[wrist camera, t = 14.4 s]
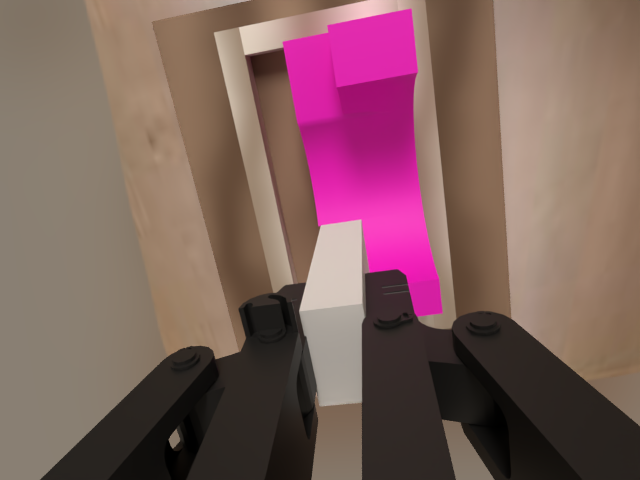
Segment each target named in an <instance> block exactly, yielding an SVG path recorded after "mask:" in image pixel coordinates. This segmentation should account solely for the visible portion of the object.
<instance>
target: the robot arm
mask: <svg viewBox="0 0 640 480" xmlns="http://www.w3.org/2000/svg"><path fill="white" fill-rule="evenodd" d="M238 310H239V313H240V317H241V321H242V325H243V329H244V332H245V336H246V340H245V342H244V344H243V347H242V349H241V351H240V352H238V353H235V354H232V355H229V356H226V357H222V358H219V359H216V360H215V356H214V353H213V350H211V349H210V348H209V347H205V346H190V347H186V348H183V349H180V350H178V351H177V352H175V353H173V354H171V355H170V356H168V357H167V358H166V359H164V360H163V361H162V362H161V363H160V364H159V365H158V366H157V367H156V368H155V369H154V370H153V371H152V372H151V373H150V374H148V375H147V376H146V377H145V378H144V379H143V380H142V381H141V382H140V383H139V384H138V385H137V386H136V387H135V388H134V389H133V390H132V391H131V392H130V393H129V394H128V395H127V396H126V397H125V398H124V399H123V400H122V401H121V402H120V403H119V404H118V405H117V406H116V407H115V408H114V409H112V410H111V411H110V412H109V413H108V414H107V415H106V416H105V417H104V418H103V419H102V420H101V421H100V422H99V423H98V424H97V425H96V426H95V427H94V428H93V429H92V430H91V431H90V432H89V433H88V434H87V435H86V436H85V437H84V438H83V439H82V440H81V441H80V442H79V443H77V445H76V446H74V447H73V448H72V449H71V450H70V451H69V452H68V453H67V454H66V455H65V456H64V457H63V458H62V459H61V460H60V461H59V462H58V463H57V464H56V465H55V466H54V467H53V468H52V469H51V470H50V471H49V472H48V473H47V474H46V475H45V476H43V478H41V480H311V477H312V468H313V459H314V452H315V451H314V450H315V442H316V434H317V426H318V417H317V412H316V407H315V403H314V402H315V395H316V392H317V396H318V401H319V405H320V406H329V405H340V404H350V403H361V402H362V480H456V479H455V474H454V470H453V466H452V462H451V457H450V453H449V449H448V444H447V440H446V436H445V431H444V427H443V423H442V419H443V420H449V421H456V422H461V425H462V428H463V431H464V433H465V435H466V436H467V438H468V439H469V441H470V443H471V444H472V446H473V447H474V449H475V450H476V452H477V453H478V455H479V456H480V458H481V459H482V461H483V463H484V464H485V466H486V467H487V469H488V470H489V472H490V473H491V475H492V476H493V478H494V479H495V480H640V426H639V425H638V424H636V423H635V422H634V421H633V420H632V419H630V418H629V417H628V416H627V415H626V414H625V413H623V412H622V411H621V410H620V409H619V408H617V407H616V406H615V405H614V404H613V403H611V402H610V401H609V400H608V399H607V398H605V397H604V396H603V395H602V394H601V393H599V392H598V391H597V390H596V389H595V388H593V387H592V386H591V385H590V384H589V383H588V382H586V381H585V380H584V379H583V378H582V377H580V376H579V375H578V374H577V373H576V372H574V371H573V370H572V369H571V368H570V367H568V366H567V365H566V364H565V363H564V362H562V361H561V360H560V359H559V358H558V357H556V356H555V355H554V354H553V353H552V352H551V351H549V350H548V349H547V348H546V347H545V346H543V345H542V344H541V343H540V342H539V341H537V340H536V339H535V338H534V337H533V336H531V335H530V334H529V333H528V332H527V331H525V330H524V329H523V328H522V327H521V326H519V325H518V324H517V323H516V322H515V321H514V320H512V319H511V318H509V317H507V316H505V315H503V314H499V313H495V312H491V311H486V312H485V311H477V312H472V313H468V314H465V315H462V316H460V317H458V318H457V319H456V320H455V321H454V322H453V325H452V330H446V329H438V328H433V327H429V326H426V325H424V324H422V323H421V322H420V321H419V320H418V317H417V316H416V314H415V312H414V308H413V303H412V299H411V295H410V291H409V286H408V282H407V277H406V275H405V274H404V273H402V272H401V271H400V270H398V269H394V270H386V271H379V272H371V273H370V271H369V265H368V258H367V252H366V246H365V239H364V233H363V227H362V220H354V221H347V222H341V223H334V224H327V225H321V227H320V231H319V235H318V239H317V243H316V247H315V251H314V255H313V259H312V262H311V266H310V270H309V274H308V278H307V282H305V283H297V284H289V285H285V286H283V287H282V288H281V289H280V290H279V291H278V292H277V293H267V294H263V295H259V296H256V297H254V298H251V299H249V300H247V301H246V302H244V303H243V304H242V305H241V306H240V307H239V308H238ZM175 429H177V431H178V434H179V437H180V442H179V443H178V444H177V445H176V447H174V448H173V449H172V447H171V446H170V443H169V440H168V439H169V438H170V436H171V434H172V433H173V432H174V431H175Z"/></svg>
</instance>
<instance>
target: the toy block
mask: <svg viewBox="0 0 640 480" xmlns="http://www.w3.org/2000/svg"><path fill="white" fill-rule="evenodd" d="M327 28H328V33H323V34H318V35H313V36H308V37H303V38H298V39H293V40H288V41H283V48H284V53H285V59H286V64H287V69H288V75H289V80H290V86H291V91H292V97H293V102H294V107H295V113H296V118H297V123H298V126H299V129H300V133H301V136H302V140H303V144H304V148H305V152H306V157H307V161H308V166H309V170H310V176H311V181H312V186H313V192H314V198H315V205H316V211H317V219H318V226H321V225H327V224H334V223H341V222H347V221H354V220H362V227H363V233H364V239H365V246H366V252H367V258H368V265H369V271H370V273H371V272H379V271H386V270H394V269H398V270H400V271H401V272H402V273H404V274H405V275H406V277H407V282H408V286H409V291H410V295H411V299H412V303H413V308H414V312H415V314H416V316H417V317H418V316H427V315H435V314H443V310H442V300H441V290H440V281H439V277H438V274H437V270H436V267H435V264H434V260H433V256H432V252H431V248H430V243H429V238H428V234H427V229H426V223H425V218H424V212H423V206H422V199H421V192H420V185H419V177H418V168H417V159H416V148H415V134H414V86H415V80H416V76H417V74H418V65H417V56H416V46H415V36H414V26H413V17H412V8H410V9H405V10H400V11H395V12H390V13H385V14H380V15H375V16H370V17H365V18H360V19H355V20H350V21H345V22H340V23H335V24H330V25H327Z"/></svg>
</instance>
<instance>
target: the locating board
mask: <svg viewBox="0 0 640 480" xmlns="http://www.w3.org/2000/svg"><path fill="white" fill-rule="evenodd" d="M410 8H412V17H413V26H414V36H415V46H416V56H417V65H418V74H417V76H416V80H415V86H414V134H415V148H416V159H417V168H418V177H419V185H420V192H421V199H422V206H423V212H424V218H425V223H426V229H427V234H428V238H429V243H430V248H431V252H432V256H433V260H434V264H435V267H436V270H437V274H438V277H439V281H440V290H441V300H442V310H443V314H435V315H427V316H418V320H419V321H420V322H421V323H422V324H424V325H426V326H429V327H433V328H438V329H446V330H452V325H453V322H454V321H455V320H456V319H457V318H458V317H460V316H462V315H465V314H468V313H472V312H477V311H485V312H486V311H491V312H495V313H499V314H503V315H505V316H507V317H509V318H511V307H510V289H509V272H508V254H507V237H506V219H505V202H504V184H503V167H502V149H501V132H500V114H499V97H498V79H497V62H496V44H495V27H494V9H493V0H251V1H246V2H241V3H237V4H232V5H227V6H223V7H218V8H213V9H209V10H204V11H199V12H195V13H190V14H186V15H181V16H176V17H172V18H167V19H162V20H158V21H153V22H152V24H153V28H154V32H155V35H156V39H157V43H158V47H159V50H160V54H161V58H162V62H163V65H164V69H165V73H166V77H167V81H168V84H169V88H170V92H171V96H172V99H173V103H174V107H175V111H176V115H177V118H178V122H179V126H180V130H181V133H182V137H183V141H184V145H185V148H186V152H187V156H188V160H189V164H190V167H191V171H192V175H193V179H194V182H195V186H196V190H197V194H198V197H199V201H200V205H201V209H202V213H203V216H204V220H205V224H206V228H207V231H208V235H209V239H210V243H211V247H212V250H213V254H214V258H215V262H216V265H217V269H218V273H219V277H220V280H221V284H222V288H223V292H224V296H225V299H226V303H227V307H228V311H229V314H230V318H231V322H232V326H233V329H234V333H235V337H236V341H237V345H238V348H239V352H240V351H241V349H242V347H243V344H244V342H245V340H246V336H245V332H244V329H243V325H242V321H241V317H240V313H239V310H238V308H239V307H240V306H241V305H242V304H243V303H244V302H246V301H247V300H249V299H251V298H254V297H256V296H259V295H263V294H267V293H277V292H278V291H279V290H280V289H281V288H282V287H283V286H285V285H289V284H297V283H305V282H307V278H308V274H309V270H310V266H311V262H312V259H313V255H314V251H315V247H316V243H317V239H318V235H319V231H320V227H321V226H318V219H317V211H316V205H315V198H314V192H313V186H312V181H311V176H310V170H309V166H308V161H307V157H306V152H305V148H304V144H303V140H302V136H301V133H300V129H299V126H298V123H297V118H296V113H295V107H294V102H293V97H292V91H291V86H290V80H289V75H288V69H287V64H286V59H285V53H284V48H283V41H288V40H293V39H298V38H303V37H308V36H313V35H318V34H323V33H328V28H327V25H330V24H335V23H340V22H345V21H350V20H355V19H360V18H365V17H370V16H375V15H380V14H385V13H390V12H395V11H400V10H405V9H410Z"/></svg>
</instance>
